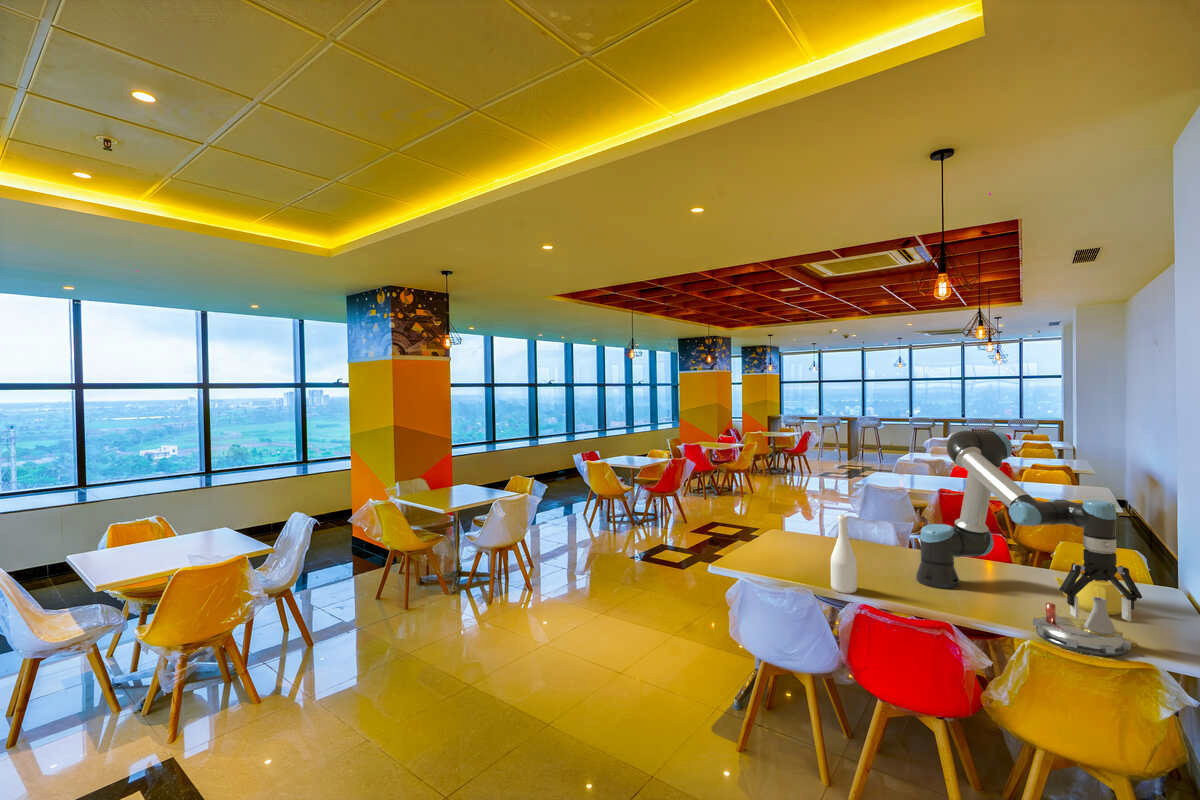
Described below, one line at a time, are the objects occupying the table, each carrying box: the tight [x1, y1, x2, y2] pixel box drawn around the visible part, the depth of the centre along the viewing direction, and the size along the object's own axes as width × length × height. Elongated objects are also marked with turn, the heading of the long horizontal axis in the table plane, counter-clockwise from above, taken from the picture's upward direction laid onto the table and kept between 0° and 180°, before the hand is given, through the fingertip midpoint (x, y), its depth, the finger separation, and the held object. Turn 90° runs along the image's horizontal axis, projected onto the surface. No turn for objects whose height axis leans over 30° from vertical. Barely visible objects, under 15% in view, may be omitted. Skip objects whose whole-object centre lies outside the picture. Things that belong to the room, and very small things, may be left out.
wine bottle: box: [830, 514, 858, 594], centre depth 211 cm, size 10×10×30 cm
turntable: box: [1032, 602, 1132, 653], centre depth 166 cm, size 23×23×8 cm
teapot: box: [1054, 576, 1131, 616], centre depth 190 cm, size 17×17×12 cm
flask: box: [1084, 597, 1117, 635], centre depth 164 cm, size 7×7×10 cm
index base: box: [1036, 626, 1138, 658], centre depth 165 cm, size 24×21×1 cm
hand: (1100, 617), depth 164 cm, fingers open, 13 cm apart
